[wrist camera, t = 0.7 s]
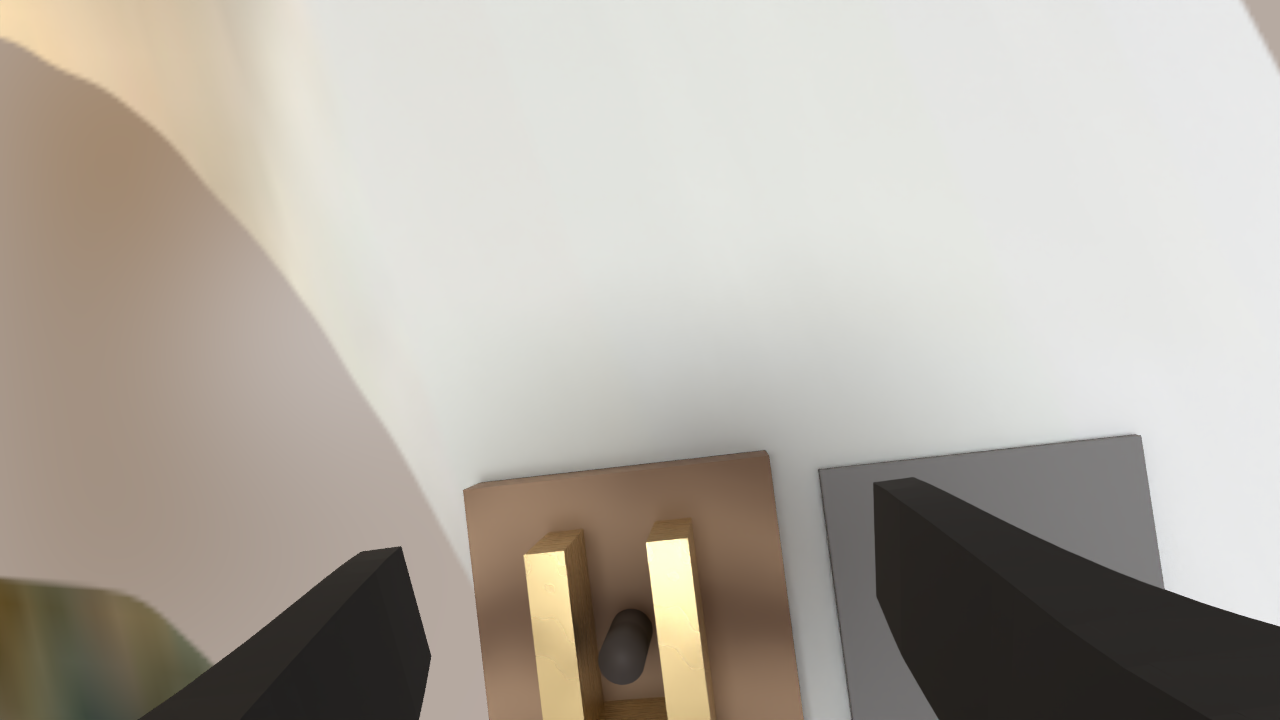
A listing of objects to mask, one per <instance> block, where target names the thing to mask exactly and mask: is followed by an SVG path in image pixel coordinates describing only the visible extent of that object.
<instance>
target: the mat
mask: <svg viewBox="0 0 1280 720" xmlns="http://www.w3.org/2000/svg"><path fill="white" fill-rule="evenodd" d="M819 476H820V484H821V491H822V499H823V506H824V514H825V521H826V528H827V536H828V543H829V551H830V558H831V566H832V573H833V581H834V588H835V596H836V603H837V610H838V618H839V625H840V633H841V640H842V648H843V655H844V663H845V670H846V678H847V685H848V692H849V700H850V707H851V715H852V720H939V719H938V718H937V716H936V714H935V713H934V711H933V709H932V707H931V706H930V704H929V702H928V701H927V699H926V697H925V696H924V694H923V692H922V690H921V689H920V687H919V685H918V683H917V682H916V680H915V678H914V677H913V675H912V673H911V671H910V670H909V668H908V666H907V664H906V663H905V661H904V659H903V657H902V656H901V653H900V651H899V649H898V646H897V644H896V642H895V640H894V637H893V635H892V633H891V631H890V628H889V626H888V624H887V621H886V619H885V616H884V614H883V611H882V609H881V607H880V604H879V602H878V599H877V597H876V571H875V535H874V499H873V482H880V481H887V480H895V479H902V478H909V477H915V478H917V479H920V480H922V481H924V482H927V483H929V484H931V485H933V486H935V487H937V488H939V489H942V490H944V491H946V492H948V493H950V494H952V495H954V496H956V497H958V498H960V499H962V500H964V501H966V502H968V503H970V504H972V505H973V506H975V507H977V508H979V509H981V510H983V511H985V512H987V513H989V514H991V515H993V516H995V517H997V518H999V519H1001V520H1003V521H1005V522H1007V523H1010V524H1012V525H1014V526H1016V527H1018V528H1020V529H1022V530H1024V531H1026V532H1028V533H1030V534H1032V535H1034V536H1037V537H1039V538H1041V539H1043V540H1045V541H1047V542H1049V543H1052V544H1054V545H1056V546H1058V547H1060V548H1063V549H1065V550H1067V551H1069V552H1072V553H1074V554H1076V555H1079V556H1081V557H1083V558H1086V559H1088V560H1090V561H1093V562H1095V563H1097V564H1100V565H1102V566H1104V567H1107V568H1109V569H1111V570H1114V571H1116V572H1119V573H1121V574H1124V575H1127V576H1129V577H1132V578H1134V579H1137V580H1139V581H1142V582H1145V583H1148V584H1150V585H1153V586H1156V587H1159V588H1162V589H1164V582H1163V576H1162V569H1161V563H1160V556H1159V550H1158V543H1157V537H1156V530H1155V523H1154V517H1153V510H1152V504H1151V497H1150V491H1149V484H1148V478H1147V471H1146V464H1145V458H1144V451H1143V445H1142V438H1141V435H1127V436H1118V437H1109V438H1100V439H1091V440H1082V441H1072V442H1063V443H1054V444H1045V445H1036V446H1027V447H1018V448H1009V449H1000V450H991V451H981V452H972V453H963V454H954V455H945V456H936V457H927V458H918V459H909V460H900V461H891V462H881V463H872V464H863V465H854V466H845V467H836V468H827V469H819ZM1164 590H1165V589H1164Z"/></svg>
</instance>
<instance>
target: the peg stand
mask: <svg viewBox="0 0 1280 720" xmlns="http://www.w3.org/2000/svg"><path fill="white" fill-rule="evenodd" d="M463 494H464V503H465V511H466V520H467V529H468V538H469V547H470V555H471V564H472V573H473V582H474V590H475V599H476V608H477V617H478V626H479V634H480V642H481V652H482V661H483V669H484V678H485V687H486V695H487V704H488V713H489V720H543V716H542V707H541V699H540V690H539V682H538V673H537V665H536V656H535V647H534V639H533V630H532V622H531V613H530V605H529V596H528V588H527V579H526V570H525V562H524V554H525V553H526V552H527V551H529V550H530V549H531V548H532V547H533V546H534V545H535V544H536V543H537V542H538V541H539V540H541V539H542V538H543V537H544V536H545V535H546V534H547V533H549V532H558V531H568V530H578V529H583V530H584V539H585V547H586V555H587V564H588V572H589V580H590V589H591V597H592V605H593V614H594V622H595V630H596V638H597V647H598V655H599V656H598V664H599V668H600V672H601V680H602V688H603V697H604V701H617V700H629V699H642V698H655V697H665V692H664V684H663V676H662V668H661V660H660V652H659V644H658V636H657V628H656V620H655V612H654V603H653V595H652V587H651V579H650V571H649V563H648V555H647V547H646V541H647V539H648V536H649V534H650V532H651V529H652V527H653V525H654V522H655V521H663V520H673V519H682V518H691V519H692V527H693V535H694V543H695V551H696V558H697V566H698V574H699V582H700V590H701V598H702V606H703V614H704V622H705V630H706V637H707V645H708V653H709V661H710V669H711V677H712V685H713V693H714V701H715V709H716V716H717V720H804V718H803V711H802V703H801V695H800V688H799V680H798V672H797V665H796V657H795V650H794V642H793V634H792V627H791V619H790V612H789V604H788V596H787V589H786V581H785V574H784V566H783V558H782V551H781V543H780V535H779V528H778V520H777V513H776V505H775V497H774V490H773V482H772V475H771V467H770V459H769V455H768V453H767V452H766V451H765V450H763V451H755V452H746V453H737V454H728V455H719V456H710V457H702V458H693V459H684V460H675V461H666V462H658V463H649V464H640V465H631V466H622V467H614V468H605V469H596V470H587V471H578V472H570V473H561V474H552V475H543V476H534V477H526V478H517V479H508V480H499V481H490V482H482V483H478V484H476V485H474V486H471V487H469V488H467V489H464V490H463Z"/></svg>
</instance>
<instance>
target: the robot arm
mask: <svg viewBox="0 0 1280 720" xmlns="http://www.w3.org/2000/svg"><path fill="white" fill-rule="evenodd" d="M873 499H874V535H875V571H876V597H877V599H878V602H879V604H880V607H881V609H882V611H883V614H884V616H885V619H886V621H887V624H888V626H889V628H890V631H891V633H892V635H893V637H894V640H895V642H896V644H897V646H898V649H899V651H900V653H901V656H902V657H903V659H904V661H905V663H906V664H907V666H908V668H909V670H910V671H911V673H912V675H913V677H914V678H915V680H916V682H917V683H918V685H919V687H920V689H921V690H922V692H923V694H924V696H925V697H926V699H927V701H928V702H929V704H930V706H931V707H932V709H933V711H934V713H935V714H936V716H937V718H938V719H939V720H1280V627H1279V626H1276V625H1273V624H1269V623H1266V622H1262V621H1259V620H1255V619H1252V618H1248V617H1245V616H1241V615H1238V614H1235V613H1232V612H1229V611H1226V610H1223V609H1219V608H1216V607H1213V606H1210V605H1207V604H1204V603H1201V602H1198V601H1195V600H1193V599H1190V598H1187V597H1184V596H1181V595H1178V594H1176V593H1173V592H1170V591H1167V590H1164V589H1162V588H1159V587H1156V586H1153V585H1150V584H1148V583H1145V582H1142V581H1139V580H1137V579H1134V578H1132V577H1129V576H1127V575H1124V574H1121V573H1119V572H1116V571H1114V570H1111V569H1109V568H1107V567H1104V566H1102V565H1100V564H1097V563H1095V562H1093V561H1090V560H1088V559H1086V558H1083V557H1081V556H1079V555H1076V554H1074V553H1072V552H1069V551H1067V550H1065V549H1063V548H1060V547H1058V546H1056V545H1054V544H1052V543H1049V542H1047V541H1045V540H1043V539H1041V538H1039V537H1037V536H1034V535H1032V534H1030V533H1028V532H1026V531H1024V530H1022V529H1020V528H1018V527H1016V526H1014V525H1012V524H1010V523H1007V522H1005V521H1003V520H1001V519H999V518H997V517H995V516H993V515H991V514H989V513H987V512H985V511H983V510H981V509H979V508H977V507H975V506H973V505H972V504H970V503H968V502H966V501H964V500H962V499H960V498H958V497H956V496H954V495H952V494H950V493H948V492H946V491H944V490H942V489H939V488H937V487H935V486H933V485H931V484H929V483H927V482H924V481H922V480H920V479H917V478H915V477H909V478H902V479H895V480H887V481H880V482H873ZM430 660H431V654H430V650H429V646H428V643H427V639H426V635H425V632H424V628H423V624H422V621H421V617H420V613H419V610H418V606H417V603H416V599H415V595H414V591H413V588H412V584H411V581H410V577H409V573H408V569H407V566H406V562H405V559H404V555H403V551H402V548H401V546H400V547H392V548H385V549H378V550H370V551H363V552H360V553H359V554H357V555H356V556H354V557H353V558H351V559H350V560H348V561H347V562H345V563H344V564H343V565H341V566H340V567H339V568H338V569H336V570H335V571H334V572H332V573H331V574H330V575H329V576H327V577H326V578H325V579H323V580H322V581H321V582H320V583H318V584H317V585H316V586H315V587H313V588H312V589H311V590H310V591H309V592H307V593H306V594H305V595H304V596H302V597H301V598H300V599H299V600H298V601H296V602H295V603H294V604H292V605H291V606H290V607H289V608H287V609H286V610H285V611H284V612H283V613H281V614H280V615H279V616H278V617H276V618H275V619H274V620H272V621H271V622H270V623H269V624H268V625H266V626H265V627H264V628H262V629H261V630H260V631H259V632H257V633H256V634H255V635H254V636H252V637H251V638H250V639H249V640H247V641H246V642H245V643H244V644H242V645H241V646H240V647H238V648H237V649H235V650H234V651H233V652H231V653H230V654H229V655H227V656H226V657H225V658H223V659H222V660H221V661H219V662H218V663H217V664H215V665H214V666H213V667H211V668H210V669H209V670H207V671H206V672H205V673H203V674H202V675H201V676H199V677H198V678H197V679H195V680H194V681H193V682H191V683H190V684H189V685H187V686H186V687H185V688H183V689H182V690H180V691H179V692H177V693H176V694H175V695H173V696H172V697H170V698H169V699H168V700H166V701H165V702H163V703H162V704H160V705H159V706H157V707H156V708H154V709H153V710H151V711H150V712H149V713H147V714H146V715H144V716H143V717H141V718H140V719H138V720H419V717H420V712H421V707H422V703H423V698H424V693H425V688H426V683H427V677H428V671H429V666H430Z"/></svg>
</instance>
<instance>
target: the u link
mask: <svg viewBox="0 0 1280 720" xmlns="http://www.w3.org/2000/svg"><path fill="white" fill-rule="evenodd" d="M646 547H647V555H648V563H649V571H650V579H651V587H652V595H653V603H654V612H655V620H656V628H657V636H658V644H659V652H660V660H661V668H662V676H663V684H664V692H665V697H655V698H642V699H629V700H617V701H604V697H603V688H602V680H601V672H600V668H599V664H598V656H599V655H598V647H597V638H596V630H595V622H594V614H593V605H592V597H591V589H590V580H589V572H588V564H587V555H586V547H585V539H584V530H583V529H578V530H568V531H558V532H549V533H547V534H546V535H545V536H544V537H543V538H542V539H541V540H539V541H538V542H537V543H536V544H535V545H534V546H533V547H532V548H531V549H530V550H529V551H527V552H526V553H525V554H524V562H525V570H526V579H527V588H528V596H529V605H530V613H531V622H532V630H533V639H534V647H535V656H536V665H537V673H538V682H539V690H540V699H541V707H542V716H543V720H717V716H716V709H715V701H714V693H713V685H712V677H711V669H710V661H709V653H708V645H707V637H706V630H705V622H704V614H703V606H702V598H701V590H700V582H699V574H698V566H697V558H696V551H695V543H694V535H693V527H692V519H691V518H682V519H673V520H663V521H655V522H654V525H653V527H652V529H651V532H650V534H649V536H648V539H647V541H646Z"/></svg>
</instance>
